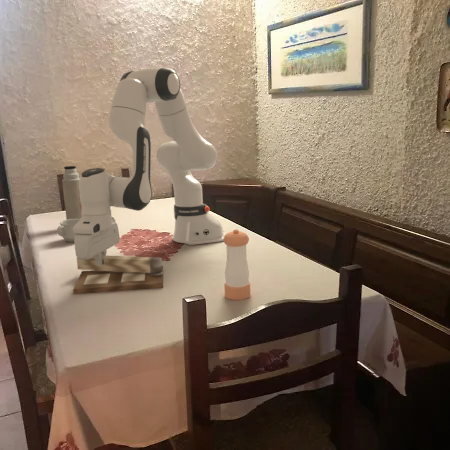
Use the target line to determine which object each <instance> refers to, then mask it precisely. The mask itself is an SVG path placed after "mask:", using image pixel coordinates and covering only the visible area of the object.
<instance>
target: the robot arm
mask: <svg viewBox="0 0 450 450" xmlns="http://www.w3.org/2000/svg"><path fill="white" fill-rule="evenodd" d="M149 103H154V104H155V108H156V112H157V115H158V119H159V122H160V125H161V127H162V131H163V133H164V134H165V135H166V136H167V137H168V138H170V139H172V141H166V142H164V143H161V144H160V145H159V147H157V150H156V160H157V162H158V164H159V165H160V166H161V167H162V168H163V169H164V170H165V171H166V173H167V174H168V176H169V178H170V180H171V183H172V187H173V188H172V189H173V197H174V205H173V215H174V216H173V217H174V232H173V236H172V240H173V242H176V243H180V244H186V245H189V246H194V245H201V244H211V243H218V242H224V241H223V239H224V236H225V235H226V234H227V233H228V232H227V231H225V230H223V226H222V225H223V224H222V223H221V221H220V220H219V219H218V218H216V217H215V216H213V215H212V214H211V213H209V212H210V210H211V208H210V207H209V206H208V205H207V204H205V203H203V202H204V201H203V185H202V184H201V182H200V181H199V180H197V179H196V178H195V177H194V176H193V174H192V172H191V171H205V170H209V169H213V168H214V166H215V165H216V163H217V160H218V152H217V149H216V148H215V145H213V144H212V143H210V142H209V141H207V140H206V139H205V138H204V137H203V136H202V135H201V134H200V133H199V131H198V130H197V128H196V127H195V125H194V124H193V120H192V118H191V115H190V112H189V109H188V106H187V102H186V98H185V96H184V93H183V91H182V89H181V82H180V77H179V75H178V74H177V72H175V70H173V69H171V68H169V67H168V68H167V67H161V68H160V67H158V68H157V67H150V68H144V69H138V70H130V71H127V72H125V73H124V74H123V75H122V76H121V78H120V80H119V82H118V83H117V86H116V88H115V91H114V94H113V97H112V100H111V105H110V110H109V117H108V126H109V128H110V131H111V132H112V133H113V134H114V135H115V136H116V137H117V138H118V139H120V140H122V141H123V142H126V143H128V144H129V145H130V147H131V150H132V174H131V176H130V177H123V176H116V175H113V174H110V173H109V172H107V170H106V169H105V168H103V167H95V168H89V169H86V170H84V171H83V172H81V174H80V175H79V178H80V182H79V191H80V201H81V203H82V212H81V214H82V218H80V220H79V221H78V223H77V224H76V225H75V226H74V227H73V233H75V234H76V235H75V239H74V242H73V243H74V250H75V256H76V259H77V258H78V259H82V260H88V259H90V258H92V257H94V259H95V260H96V265H97V266H102V265H103V264H105V257H106V256H107V250H108V249H110V248H112V247H114V246H116V245H118V244H119V243H120V238H121V237H120V232H119V225H118V223H117V222H116V219H115V218H114V217H113V215H112V209H111V207H112V208H113V207H114V208H120V209H121V208H122V209H129V210H133V211H139V212H140V211H142V210H144V209H145V208H147V206H148V205H149V204H150V202H151V200H152V197H153V191H152V190H153V189H152V183H151V158H152V157H151V156H152V155H151V153H152V152H151V151H152V150H151V149H152V147H151V143H152V142H151V136H150V132H149V131H148V129H146V126H145V123H146V122H145V121H146V120H145V119H146V111H147V104H149Z"/></svg>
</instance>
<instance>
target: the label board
mask: <svg viewBox="0 0 450 450" xmlns="http://www.w3.org/2000/svg"><path fill="white" fill-rule="evenodd" d="M162 269H163V271H162V272H161V273H147V272H125V271H104V270H81V272H80V275H79V276H78V278H77V280H76V283H75V284H74V287H73V289H72V293H73V295H77V294H78V295H80V294H92V293H105V292H106V293H107V292H120V291H121V292H122V291H134V290H146V289H147V290H148V289H162V288H164V265H162Z"/></svg>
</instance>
